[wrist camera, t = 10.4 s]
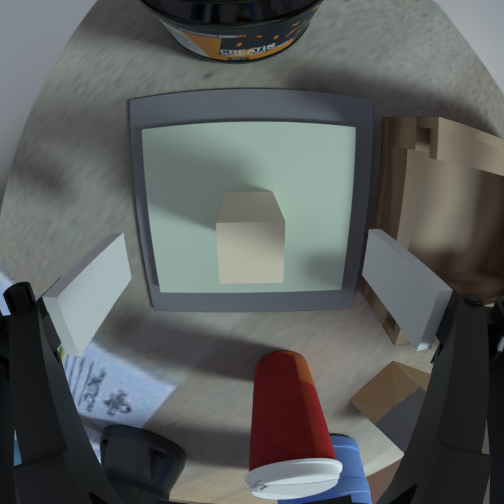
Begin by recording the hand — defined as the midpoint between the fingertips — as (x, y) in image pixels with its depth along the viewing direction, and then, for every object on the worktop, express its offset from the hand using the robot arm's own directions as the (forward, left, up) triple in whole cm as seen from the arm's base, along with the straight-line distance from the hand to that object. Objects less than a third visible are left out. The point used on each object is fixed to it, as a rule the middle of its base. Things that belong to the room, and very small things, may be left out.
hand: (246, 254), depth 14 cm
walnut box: (+19, 0, -7) cm, 21 cm away
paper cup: (+3, -17, -8) cm, 19 cm away
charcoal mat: (0, 0, -7) cm, 8 cm away
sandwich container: (+21, -25, -8) cm, 33 cm away
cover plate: (0, 0, -7) cm, 7 cm away
